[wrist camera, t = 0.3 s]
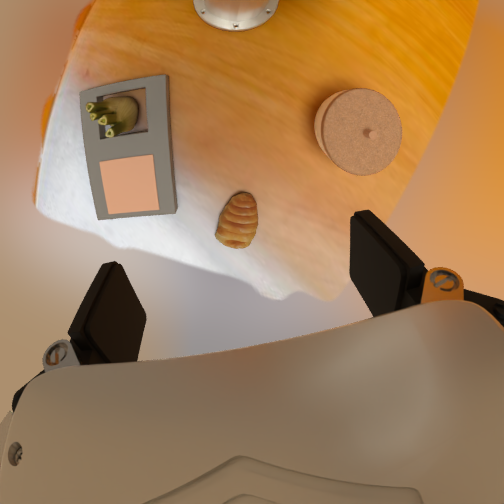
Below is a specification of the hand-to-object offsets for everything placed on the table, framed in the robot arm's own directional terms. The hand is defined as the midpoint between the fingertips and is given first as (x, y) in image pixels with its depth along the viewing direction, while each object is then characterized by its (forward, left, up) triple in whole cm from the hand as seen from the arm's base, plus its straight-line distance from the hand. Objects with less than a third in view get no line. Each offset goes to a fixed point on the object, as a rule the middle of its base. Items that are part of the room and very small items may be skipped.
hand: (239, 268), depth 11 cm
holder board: (0, -15, -35) cm, 38 cm away
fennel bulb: (-6, -15, -35) cm, 39 cm away
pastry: (+14, +2, -36) cm, 38 cm away
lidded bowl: (-3, +19, -35) cm, 40 cm away
